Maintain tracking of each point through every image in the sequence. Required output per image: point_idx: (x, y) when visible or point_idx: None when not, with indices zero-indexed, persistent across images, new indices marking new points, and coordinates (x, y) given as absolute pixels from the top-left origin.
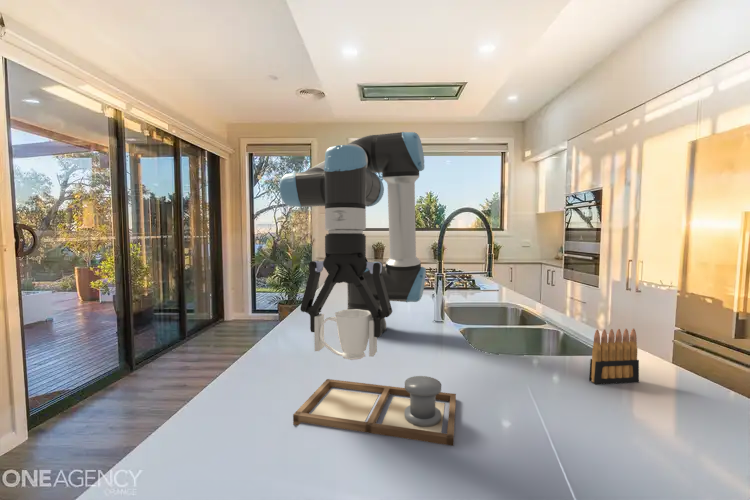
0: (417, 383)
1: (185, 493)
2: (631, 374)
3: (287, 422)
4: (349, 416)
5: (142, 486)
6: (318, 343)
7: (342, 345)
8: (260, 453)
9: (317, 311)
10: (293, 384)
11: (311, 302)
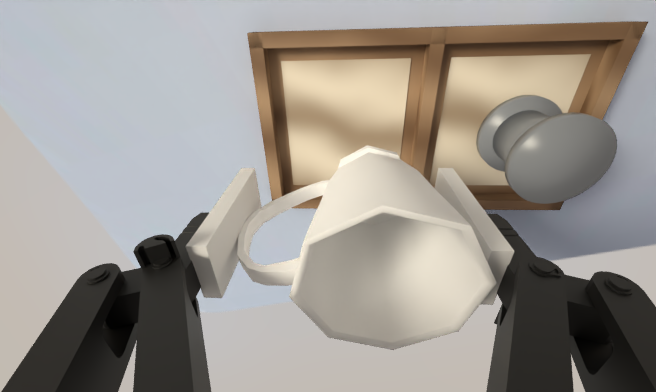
0: (545, 166)
1: (251, 307)
2: None
3: (263, 194)
4: None
5: (206, 308)
6: None
7: (346, 236)
8: (276, 256)
9: (187, 289)
10: (159, 43)
11: (107, 309)
